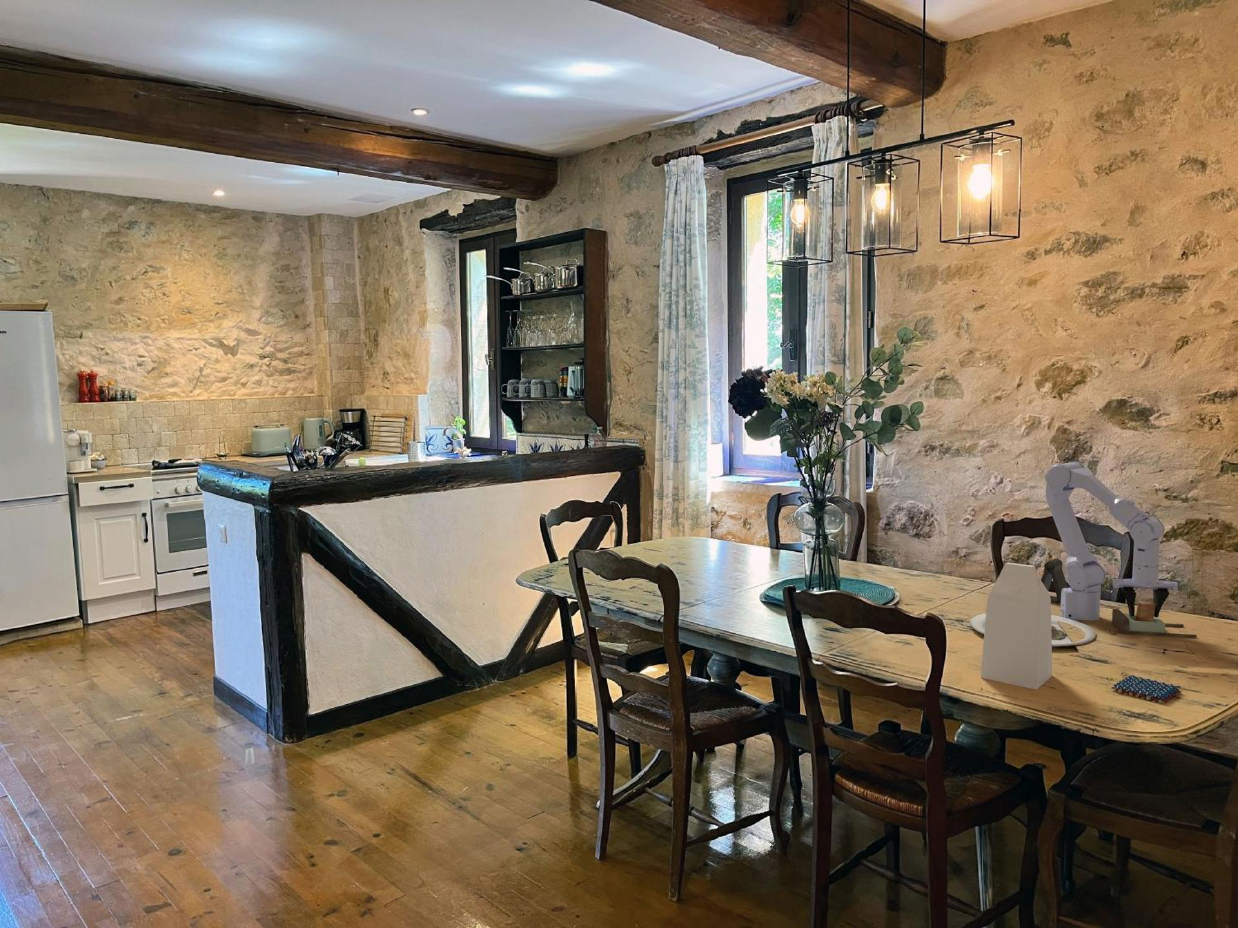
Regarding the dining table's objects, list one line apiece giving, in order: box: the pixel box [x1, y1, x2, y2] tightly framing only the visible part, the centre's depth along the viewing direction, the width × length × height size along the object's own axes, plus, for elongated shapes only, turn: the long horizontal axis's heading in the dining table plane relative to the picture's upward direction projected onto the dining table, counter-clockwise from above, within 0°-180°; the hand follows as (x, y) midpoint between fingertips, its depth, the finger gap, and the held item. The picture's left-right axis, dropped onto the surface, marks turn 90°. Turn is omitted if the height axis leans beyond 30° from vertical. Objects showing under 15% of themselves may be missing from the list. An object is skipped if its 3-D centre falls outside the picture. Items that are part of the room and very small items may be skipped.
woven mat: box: [1111, 674, 1182, 704], centre depth 187 cm, size 10×11×2 cm
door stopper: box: [1040, 558, 1069, 605], centre depth 261 cm, size 9×6×12 cm, turn 42°
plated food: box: [970, 612, 1097, 648], centre depth 229 cm, size 30×30×3 cm
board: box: [1111, 608, 1197, 639], centre depth 223 cm, size 17×16×5 cm
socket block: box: [1122, 612, 1166, 633], centre depth 226 cm, size 8×8×3 cm
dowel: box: [1135, 600, 1156, 622], centre depth 226 cm, size 4×4×7 cm
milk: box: [980, 562, 1053, 690], centre depth 196 cm, size 12×12×26 cm
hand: (1143, 615), depth 226 cm, fingers open, 5 cm apart
